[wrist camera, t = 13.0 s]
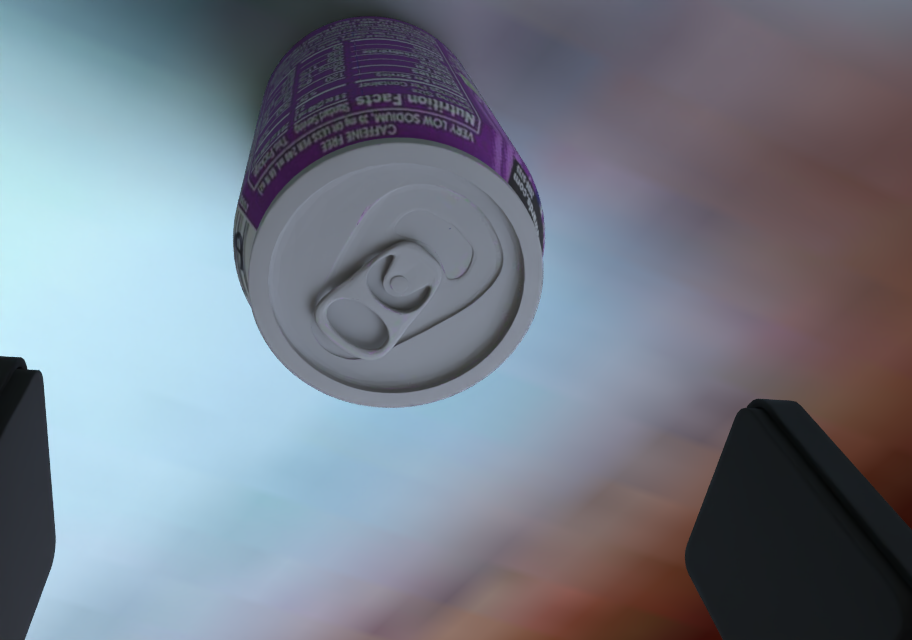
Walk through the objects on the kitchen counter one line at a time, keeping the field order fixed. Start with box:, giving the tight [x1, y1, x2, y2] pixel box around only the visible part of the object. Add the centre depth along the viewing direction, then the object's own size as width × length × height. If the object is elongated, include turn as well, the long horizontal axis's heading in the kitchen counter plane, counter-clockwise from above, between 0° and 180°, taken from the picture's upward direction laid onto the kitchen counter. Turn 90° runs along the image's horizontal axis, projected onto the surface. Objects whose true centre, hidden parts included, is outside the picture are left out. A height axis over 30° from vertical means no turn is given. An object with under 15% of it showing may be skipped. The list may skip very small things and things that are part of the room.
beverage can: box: [233, 16, 545, 408], centre depth 23 cm, size 7×7×12 cm
